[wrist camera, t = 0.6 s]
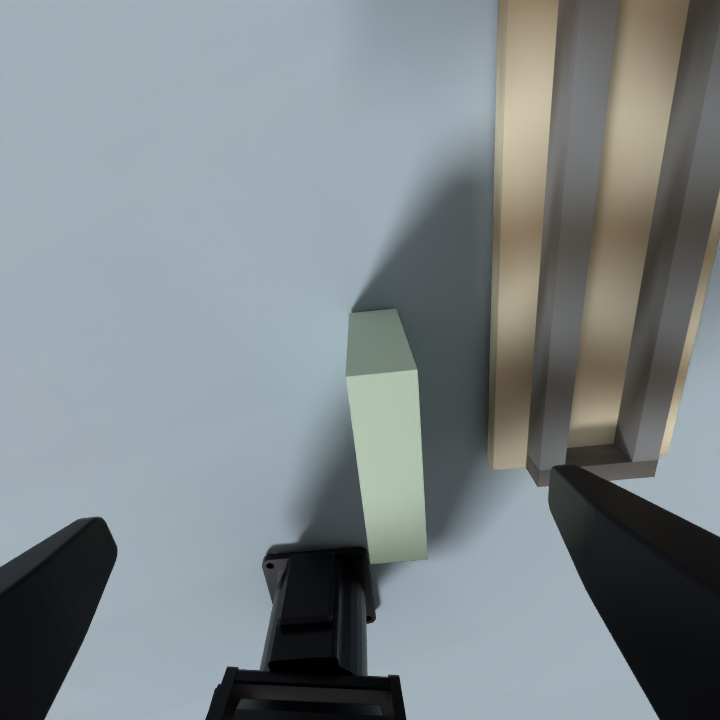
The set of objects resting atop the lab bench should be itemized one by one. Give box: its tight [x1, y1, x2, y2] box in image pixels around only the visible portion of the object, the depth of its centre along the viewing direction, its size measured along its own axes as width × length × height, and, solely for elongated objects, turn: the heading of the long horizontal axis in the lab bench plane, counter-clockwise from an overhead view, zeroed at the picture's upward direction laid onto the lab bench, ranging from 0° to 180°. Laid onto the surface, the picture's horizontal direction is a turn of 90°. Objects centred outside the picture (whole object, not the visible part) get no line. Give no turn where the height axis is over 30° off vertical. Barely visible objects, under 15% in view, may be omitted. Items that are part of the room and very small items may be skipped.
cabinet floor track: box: [487, 0, 720, 487], centre depth 16 cm, size 22×9×2 cm, turn 6°
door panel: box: [346, 308, 428, 564], centre depth 17 cm, size 8×2×7 cm, turn 6°
